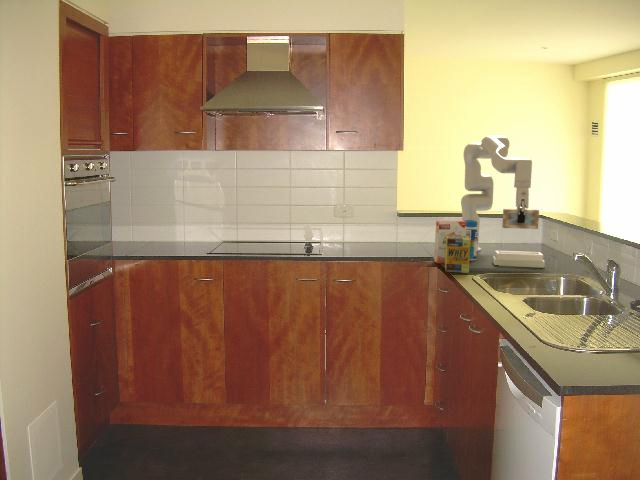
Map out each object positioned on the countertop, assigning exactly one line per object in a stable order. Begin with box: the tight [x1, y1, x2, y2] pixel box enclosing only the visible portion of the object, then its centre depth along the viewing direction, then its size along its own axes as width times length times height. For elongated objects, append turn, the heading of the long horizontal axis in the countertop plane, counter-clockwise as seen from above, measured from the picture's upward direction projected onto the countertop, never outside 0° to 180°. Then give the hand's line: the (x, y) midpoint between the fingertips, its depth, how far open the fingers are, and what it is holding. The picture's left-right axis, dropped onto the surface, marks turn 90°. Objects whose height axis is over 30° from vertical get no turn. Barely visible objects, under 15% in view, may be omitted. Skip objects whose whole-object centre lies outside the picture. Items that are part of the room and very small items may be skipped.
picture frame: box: [501, 208, 540, 230], centre depth 294 cm, size 16×4×9 cm, turn 84°
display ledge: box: [492, 250, 546, 269], centre depth 297 cm, size 23×10×6 cm, turn 79°
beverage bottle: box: [464, 220, 479, 262], centre depth 310 cm, size 8×8×20 cm
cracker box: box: [433, 220, 467, 264], centre depth 300 cm, size 14×6×21 cm, turn 96°
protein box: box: [444, 235, 470, 274], centre depth 282 cm, size 10×15×16 cm
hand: (520, 221), depth 294 cm, fingers closed on picture frame, 4 cm apart
